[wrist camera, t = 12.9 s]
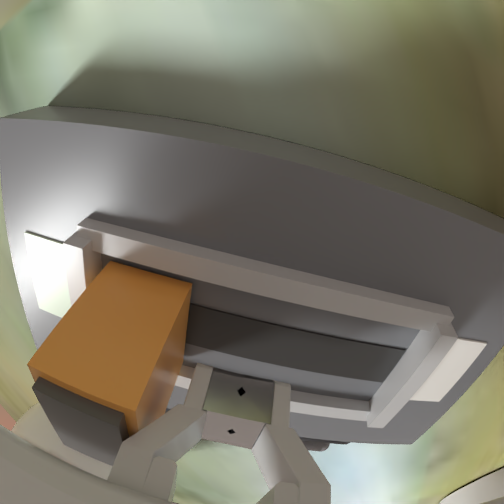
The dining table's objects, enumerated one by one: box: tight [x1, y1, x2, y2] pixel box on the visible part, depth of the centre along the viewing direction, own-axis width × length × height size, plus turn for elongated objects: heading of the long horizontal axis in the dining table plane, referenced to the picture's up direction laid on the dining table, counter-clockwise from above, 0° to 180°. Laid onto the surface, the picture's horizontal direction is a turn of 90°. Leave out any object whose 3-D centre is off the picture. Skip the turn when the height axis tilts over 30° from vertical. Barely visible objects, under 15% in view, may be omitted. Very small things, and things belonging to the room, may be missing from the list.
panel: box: [0, 106, 504, 444], centre depth 12 cm, size 22×13×4 cm, turn 78°
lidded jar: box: [11, 402, 112, 480], centre depth 19 cm, size 11×11×9 cm
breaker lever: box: [27, 261, 192, 466], centre depth 9 cm, size 3×4×5 cm
